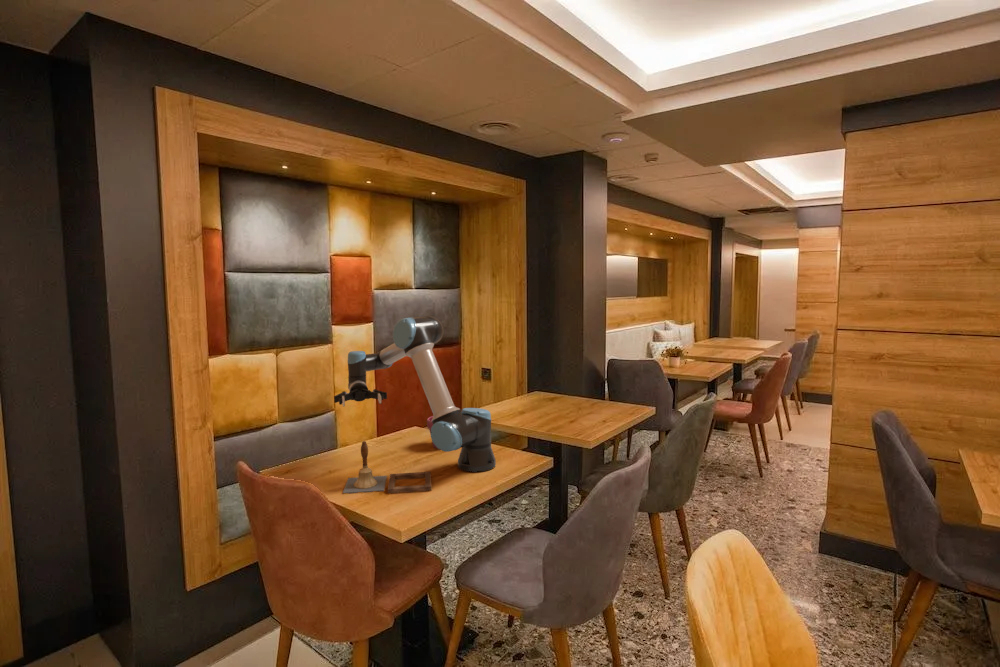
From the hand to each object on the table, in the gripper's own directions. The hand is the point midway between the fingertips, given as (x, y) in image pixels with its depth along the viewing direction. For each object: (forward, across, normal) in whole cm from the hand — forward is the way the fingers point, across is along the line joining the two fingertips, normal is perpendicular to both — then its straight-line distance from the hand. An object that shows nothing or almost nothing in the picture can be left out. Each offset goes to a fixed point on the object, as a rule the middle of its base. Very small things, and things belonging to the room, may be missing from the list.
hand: (362, 401), depth 195 cm
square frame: (+18, -15, -28) cm, 36 cm away
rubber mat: (+13, 0, -28) cm, 31 cm away
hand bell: (+14, 0, -28) cm, 31 cm away
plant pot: (-22, -36, -28) cm, 51 cm away
